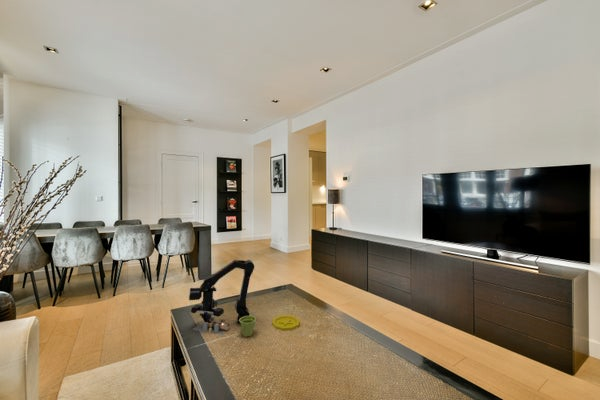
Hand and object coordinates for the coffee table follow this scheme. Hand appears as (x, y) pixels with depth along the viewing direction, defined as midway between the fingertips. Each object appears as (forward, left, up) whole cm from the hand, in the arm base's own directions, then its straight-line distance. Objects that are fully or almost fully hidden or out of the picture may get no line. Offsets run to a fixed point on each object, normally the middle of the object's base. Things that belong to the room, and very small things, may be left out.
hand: (207, 324), depth 158 cm
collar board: (-3, 0, -3) cm, 4 cm away
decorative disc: (-43, -19, -3) cm, 47 cm away
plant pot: (-25, -1, -3) cm, 25 cm away
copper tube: (-8, 0, -2) cm, 8 cm away
